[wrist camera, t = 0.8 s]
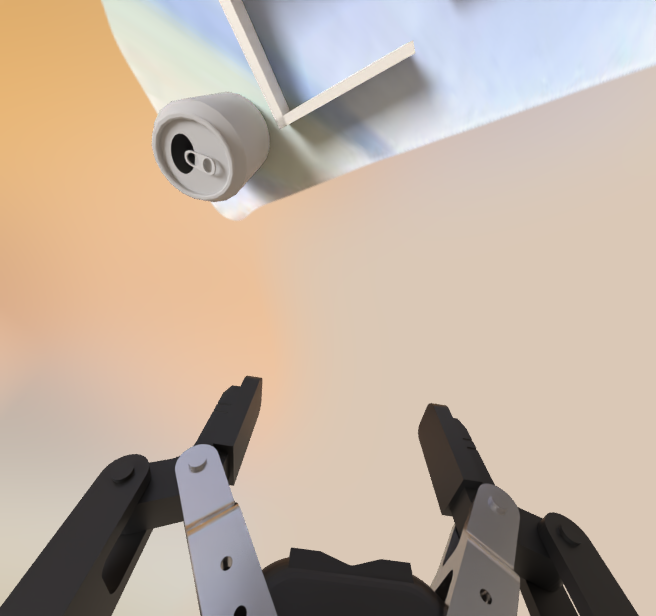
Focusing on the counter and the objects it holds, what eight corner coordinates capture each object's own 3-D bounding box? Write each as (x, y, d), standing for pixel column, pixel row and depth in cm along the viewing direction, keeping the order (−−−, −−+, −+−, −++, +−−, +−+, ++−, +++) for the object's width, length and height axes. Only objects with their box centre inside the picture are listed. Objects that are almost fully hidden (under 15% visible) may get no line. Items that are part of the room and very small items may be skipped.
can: (204, 78, 27) (133, 81, 18) (277, 108, 28) (246, 124, 19) (202, 157, 31) (146, 191, 22) (265, 180, 33) (236, 220, 24)
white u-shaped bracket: (208, -51, 21) (183, -75, 18) (359, -185, 17) (363, -247, 14) (287, 122, 29) (279, 129, 25) (405, 55, 25) (415, 53, 22)
